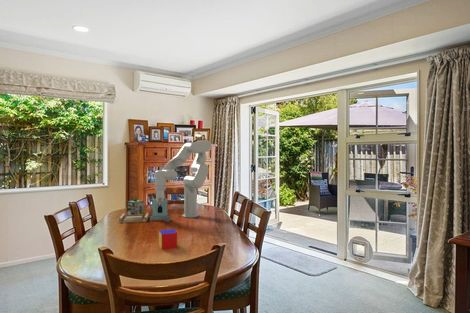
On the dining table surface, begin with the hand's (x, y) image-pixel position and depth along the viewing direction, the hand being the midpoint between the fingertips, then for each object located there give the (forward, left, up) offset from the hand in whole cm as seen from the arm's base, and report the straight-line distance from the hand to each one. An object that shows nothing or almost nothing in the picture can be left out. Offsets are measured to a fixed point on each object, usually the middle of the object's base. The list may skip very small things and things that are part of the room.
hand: (160, 211), depth 224 cm
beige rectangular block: (+3, -18, -6) cm, 19 cm away
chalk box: (-22, -20, -7) cm, 31 cm away
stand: (0, 0, -7) cm, 7 cm away
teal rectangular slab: (0, 0, -6) cm, 6 cm away
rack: (-2, -18, -7) cm, 19 cm away
